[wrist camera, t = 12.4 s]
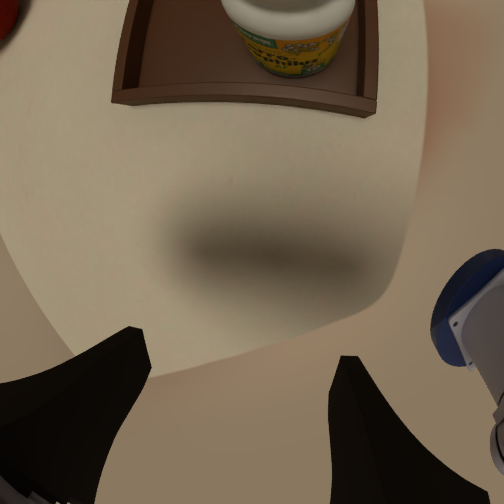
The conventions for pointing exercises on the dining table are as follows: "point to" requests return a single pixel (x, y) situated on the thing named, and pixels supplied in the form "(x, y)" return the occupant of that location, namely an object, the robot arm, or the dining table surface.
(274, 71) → the supplement bottle
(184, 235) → the dining table surface
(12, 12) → the apple
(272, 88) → the tray
